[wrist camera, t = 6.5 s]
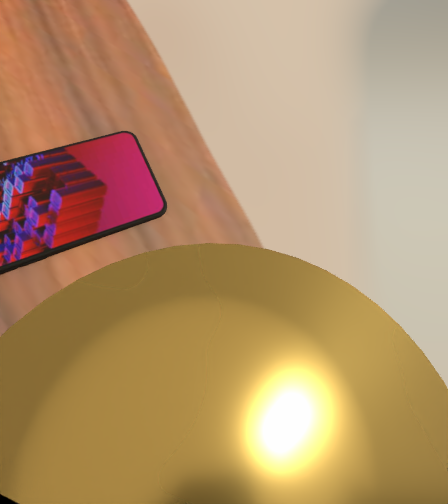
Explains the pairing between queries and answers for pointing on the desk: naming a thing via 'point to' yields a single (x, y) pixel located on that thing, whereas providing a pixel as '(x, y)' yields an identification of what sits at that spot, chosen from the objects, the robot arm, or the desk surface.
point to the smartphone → (74, 197)
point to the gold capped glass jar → (217, 389)
